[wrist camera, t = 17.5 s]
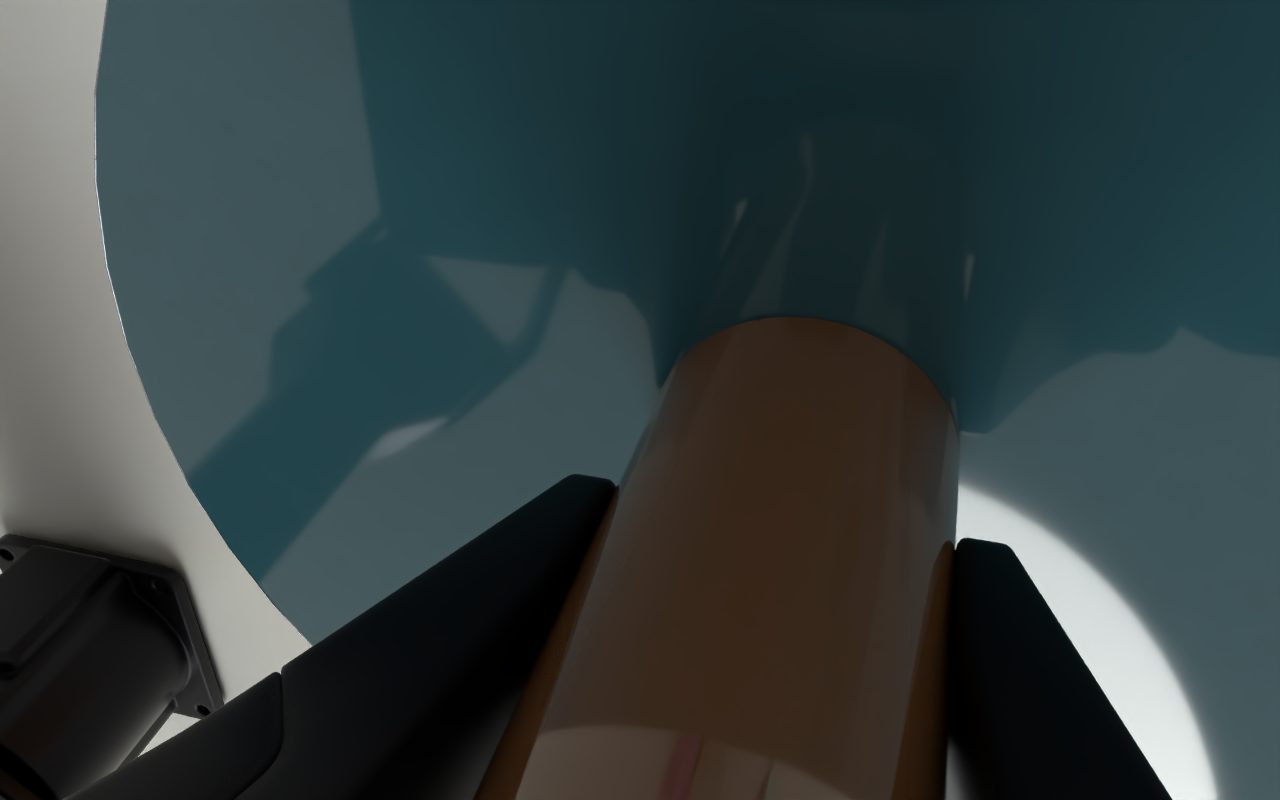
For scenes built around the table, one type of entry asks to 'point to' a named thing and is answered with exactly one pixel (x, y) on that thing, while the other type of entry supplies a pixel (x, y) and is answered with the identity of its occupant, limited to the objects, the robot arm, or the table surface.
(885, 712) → the lid
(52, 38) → the table surface
